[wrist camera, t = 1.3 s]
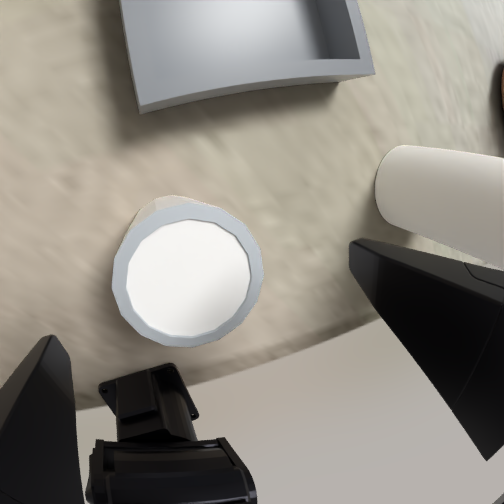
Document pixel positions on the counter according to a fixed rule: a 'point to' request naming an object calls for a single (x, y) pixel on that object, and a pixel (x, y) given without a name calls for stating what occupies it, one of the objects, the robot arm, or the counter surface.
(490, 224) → the cylindrical container
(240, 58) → the tray
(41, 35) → the counter surface
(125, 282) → the short white cylinder
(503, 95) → the ceramic jug
